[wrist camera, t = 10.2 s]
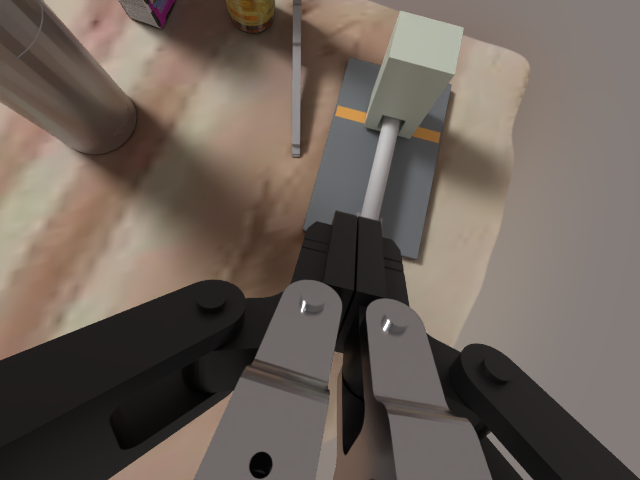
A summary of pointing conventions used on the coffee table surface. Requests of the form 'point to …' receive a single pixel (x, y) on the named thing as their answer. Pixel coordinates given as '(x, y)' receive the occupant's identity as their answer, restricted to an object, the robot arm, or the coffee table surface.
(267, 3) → the sauce bottle
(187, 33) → the coffee table surface
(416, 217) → the pipe rig
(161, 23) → the candy bar box
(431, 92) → the sage green block
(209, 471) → the robot arm
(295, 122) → the caliper
